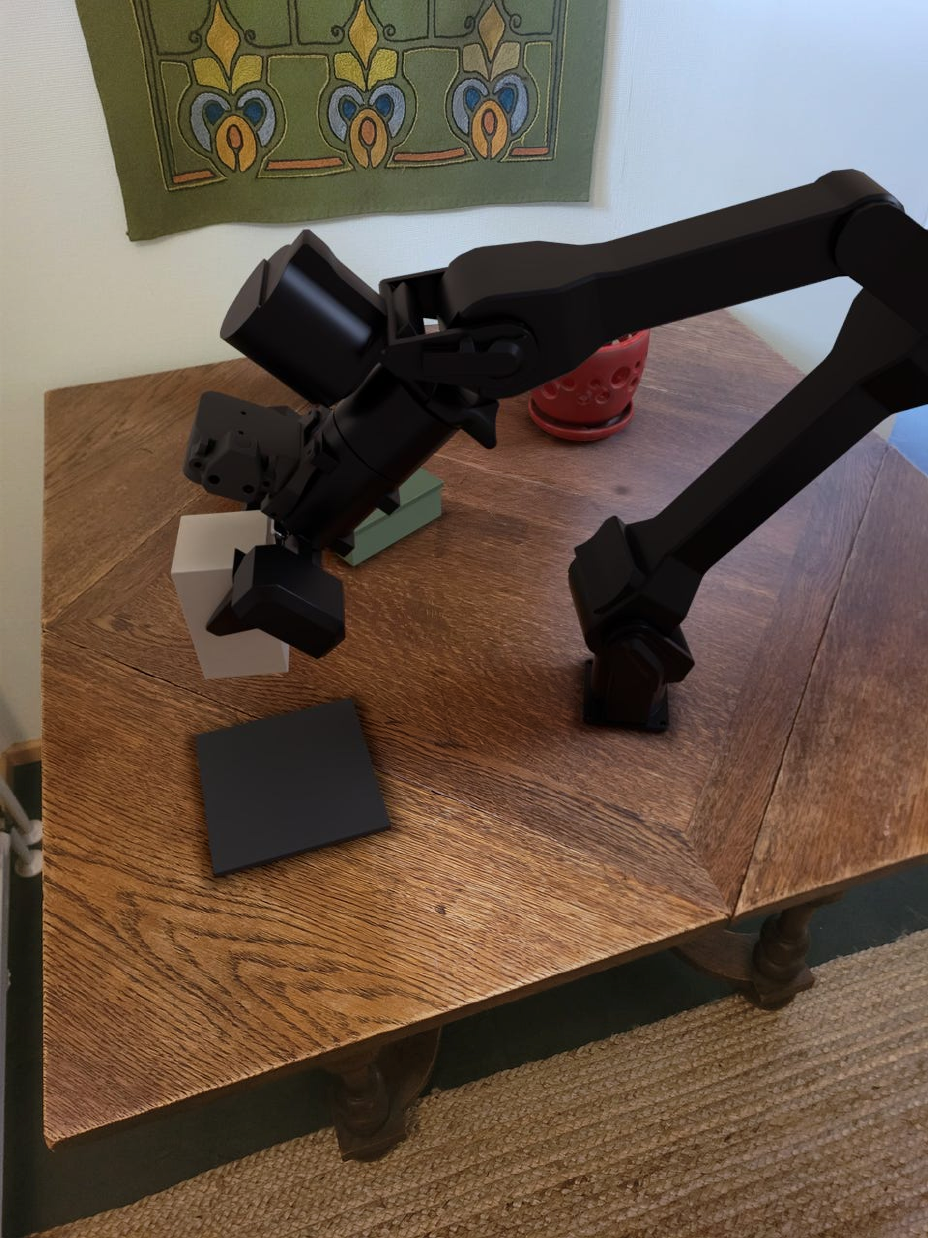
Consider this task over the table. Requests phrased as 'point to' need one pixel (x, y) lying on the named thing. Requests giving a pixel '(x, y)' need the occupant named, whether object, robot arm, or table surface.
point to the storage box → (398, 517)
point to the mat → (288, 786)
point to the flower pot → (593, 392)
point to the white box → (222, 592)
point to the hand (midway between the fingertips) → (215, 599)
